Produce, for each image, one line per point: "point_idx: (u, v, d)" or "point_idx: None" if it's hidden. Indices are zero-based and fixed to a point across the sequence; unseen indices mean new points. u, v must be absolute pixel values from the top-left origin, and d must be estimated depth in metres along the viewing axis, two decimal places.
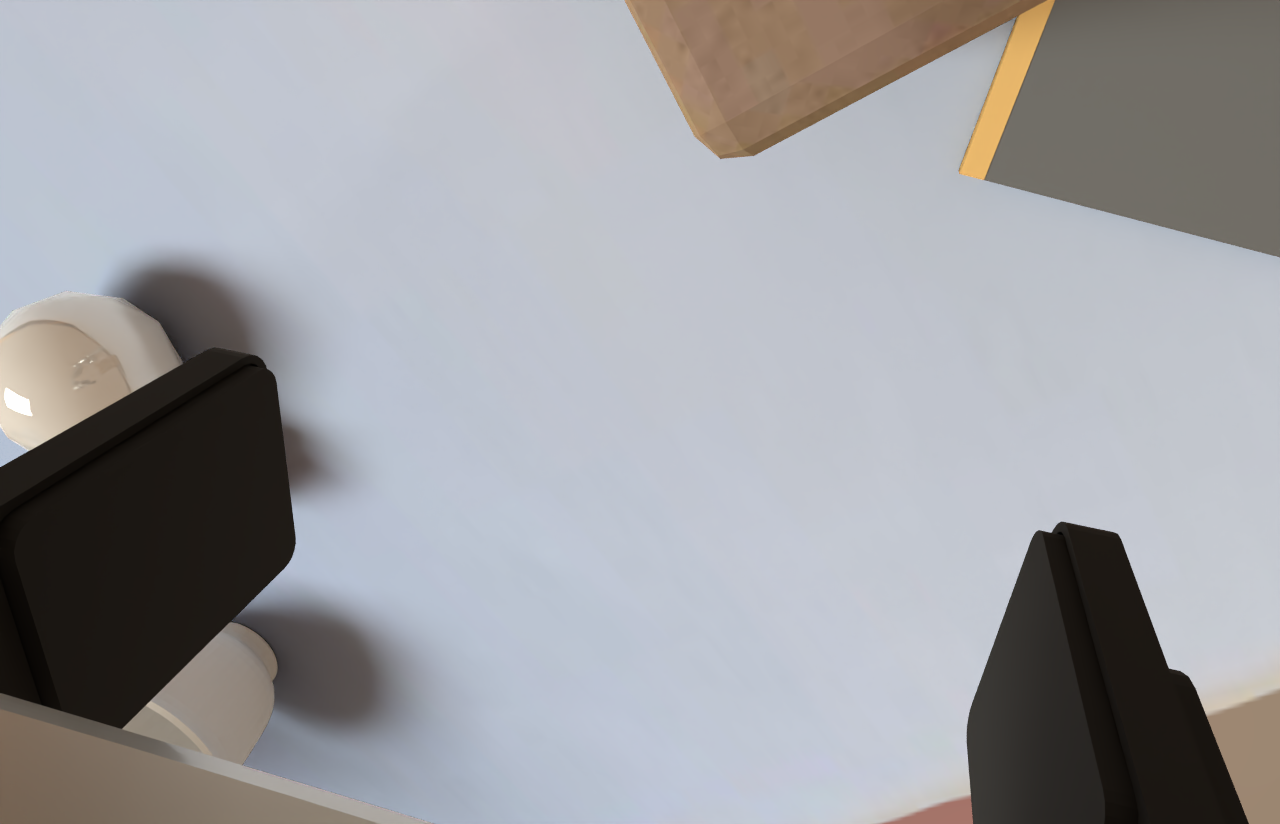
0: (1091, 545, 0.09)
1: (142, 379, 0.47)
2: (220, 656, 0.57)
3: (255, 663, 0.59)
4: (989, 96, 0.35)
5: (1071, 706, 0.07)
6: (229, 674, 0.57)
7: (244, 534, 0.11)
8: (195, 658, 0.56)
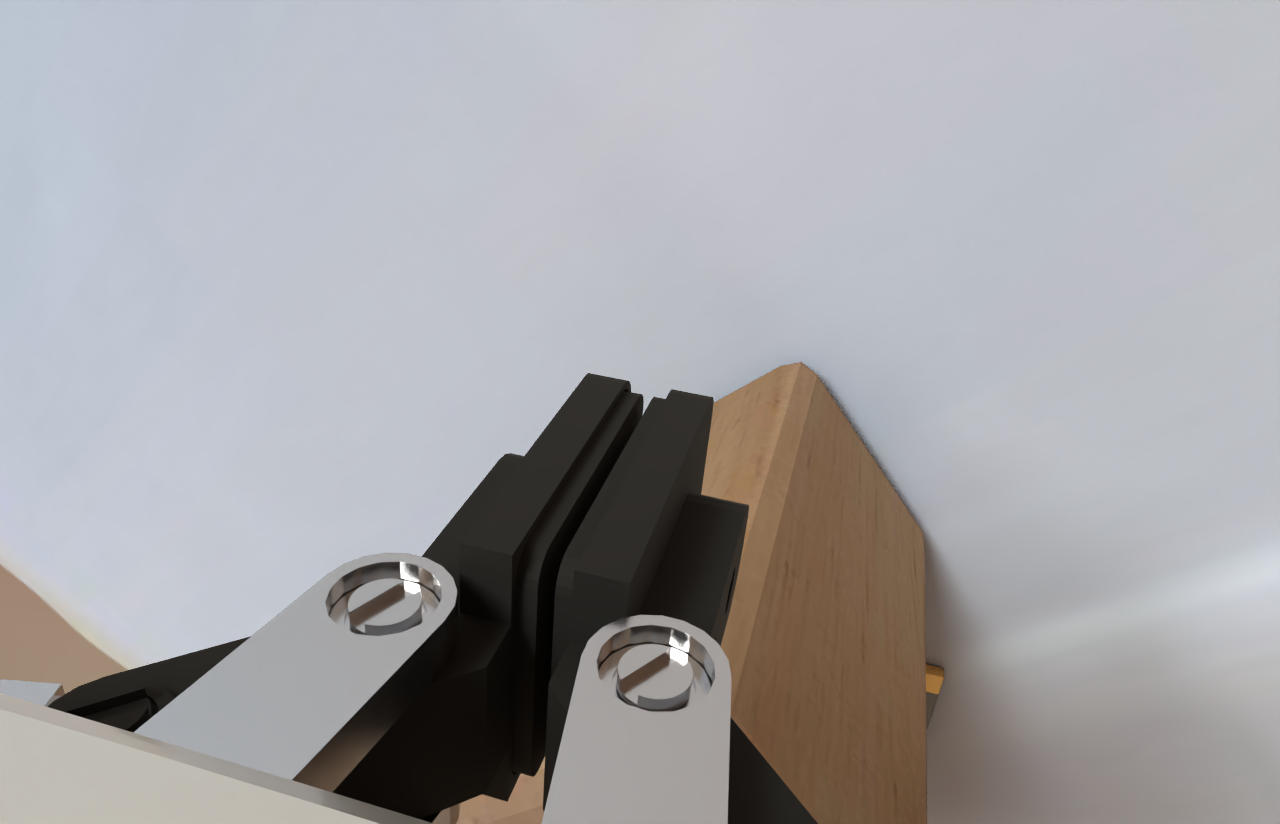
0: (680, 403, 0.10)
1: None
2: None
3: None
4: None
5: None
6: None
7: None
8: None
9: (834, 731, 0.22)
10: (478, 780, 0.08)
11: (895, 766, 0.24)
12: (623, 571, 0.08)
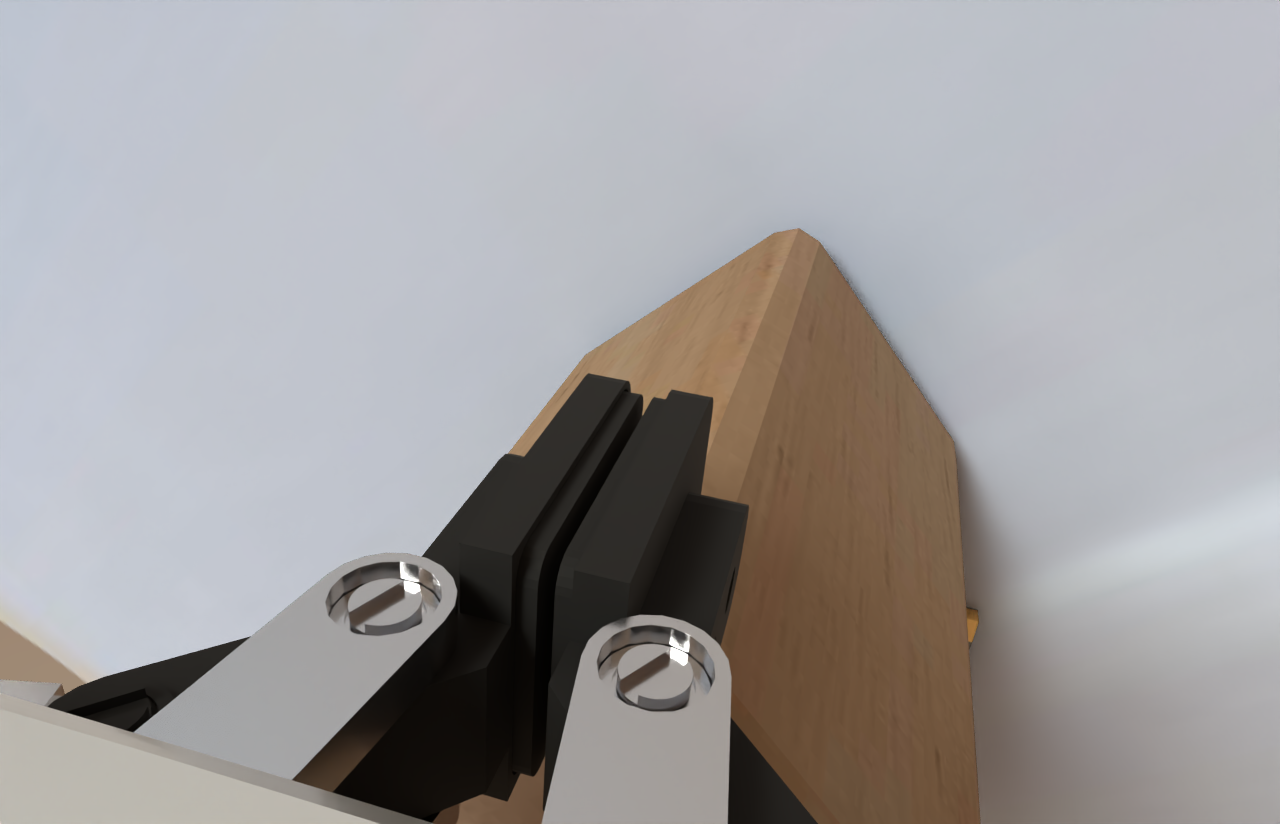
0: (679, 403, 0.10)
1: None
2: None
3: None
4: None
5: None
6: None
7: None
8: None
9: (851, 676, 0.15)
10: (478, 780, 0.08)
11: (936, 725, 0.17)
12: (623, 569, 0.08)
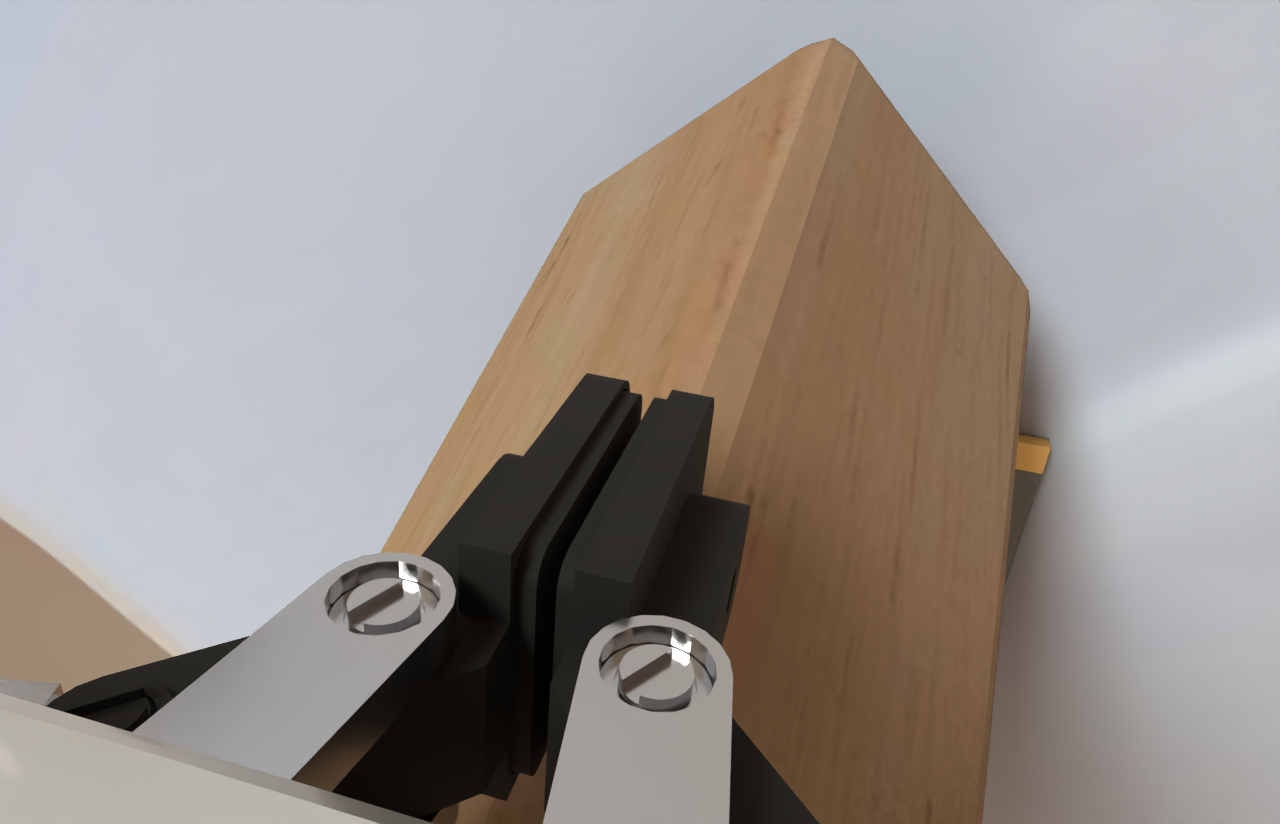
0: (681, 403, 0.10)
1: None
2: None
3: None
4: None
5: None
6: None
7: None
8: None
9: (819, 781, 0.13)
10: (477, 779, 0.08)
11: (933, 767, 0.16)
12: (624, 569, 0.08)
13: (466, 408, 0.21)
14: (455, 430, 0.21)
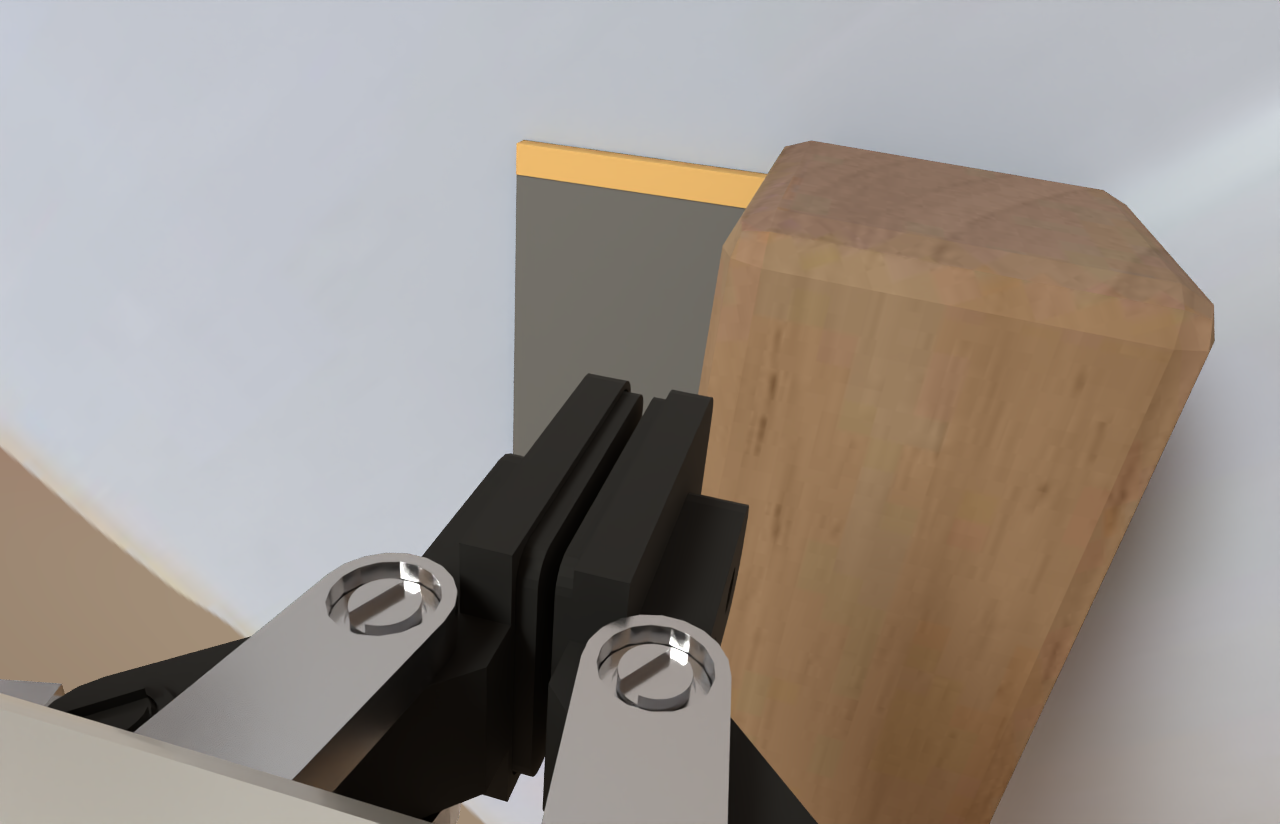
0: (680, 403, 0.10)
1: None
2: None
3: None
4: (607, 156, 0.28)
5: None
6: None
7: None
8: None
9: None
10: (478, 780, 0.08)
11: None
12: (623, 571, 0.08)
13: None
14: None
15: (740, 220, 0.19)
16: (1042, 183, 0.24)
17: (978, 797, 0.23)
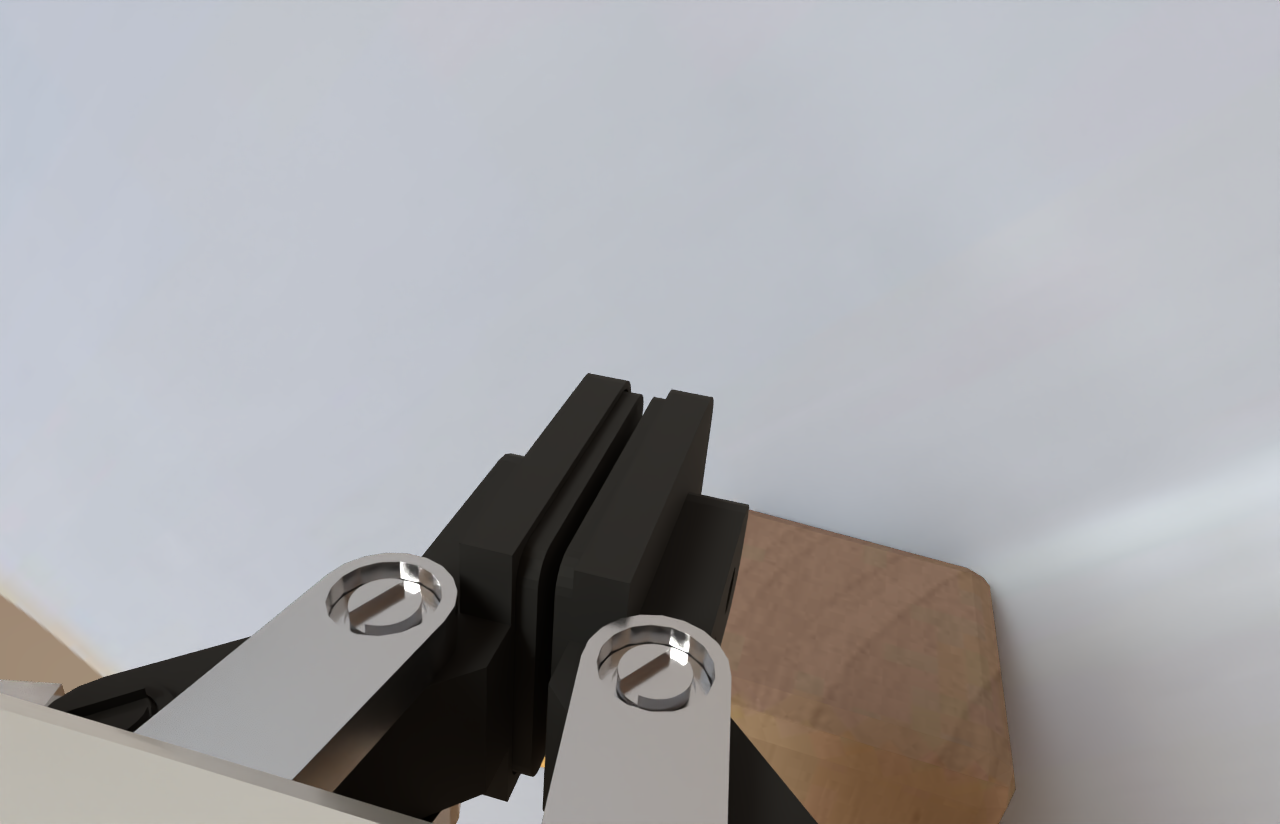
0: (680, 403, 0.10)
1: None
2: None
3: None
4: None
5: None
6: None
7: None
8: None
9: None
10: (478, 780, 0.08)
11: None
12: (623, 570, 0.08)
13: None
14: None
15: None
16: (923, 569, 0.30)
17: None
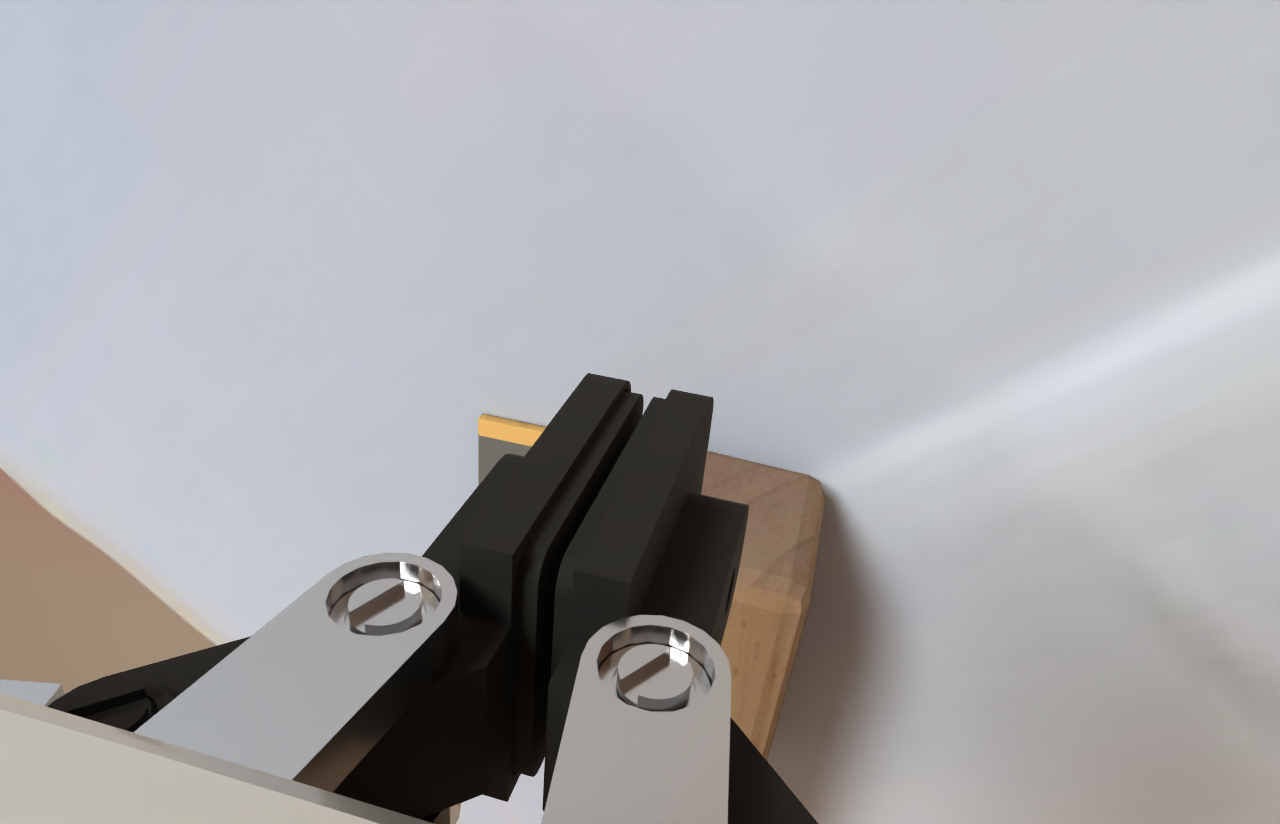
0: (680, 403, 0.10)
1: None
2: None
3: None
4: (533, 430, 0.47)
5: None
6: None
7: None
8: None
9: None
10: (478, 780, 0.08)
11: None
12: (623, 571, 0.08)
13: None
14: None
15: None
16: (773, 474, 0.42)
17: None
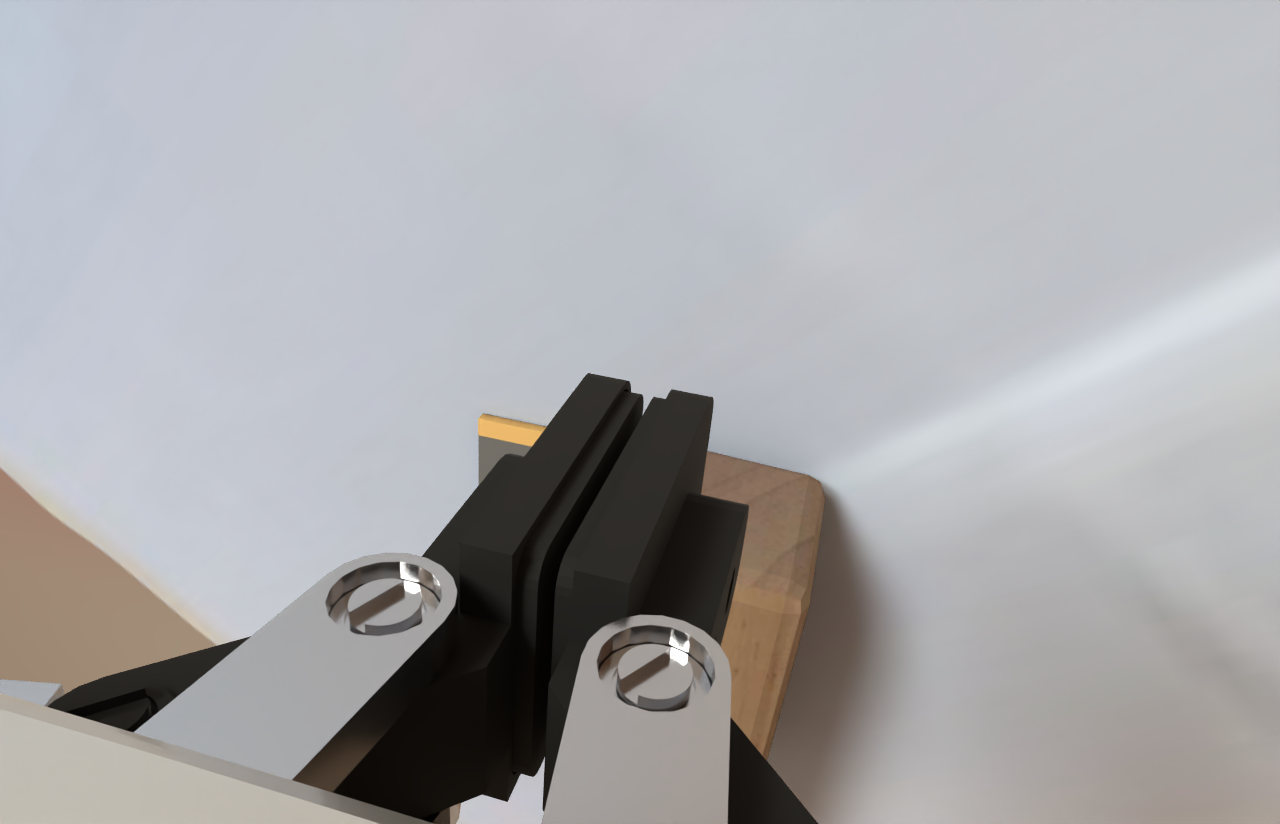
0: (680, 403, 0.10)
1: None
2: None
3: None
4: (533, 430, 0.47)
5: None
6: None
7: None
8: None
9: None
10: (478, 780, 0.08)
11: None
12: (623, 571, 0.08)
13: None
14: None
15: None
16: (773, 474, 0.42)
17: None
